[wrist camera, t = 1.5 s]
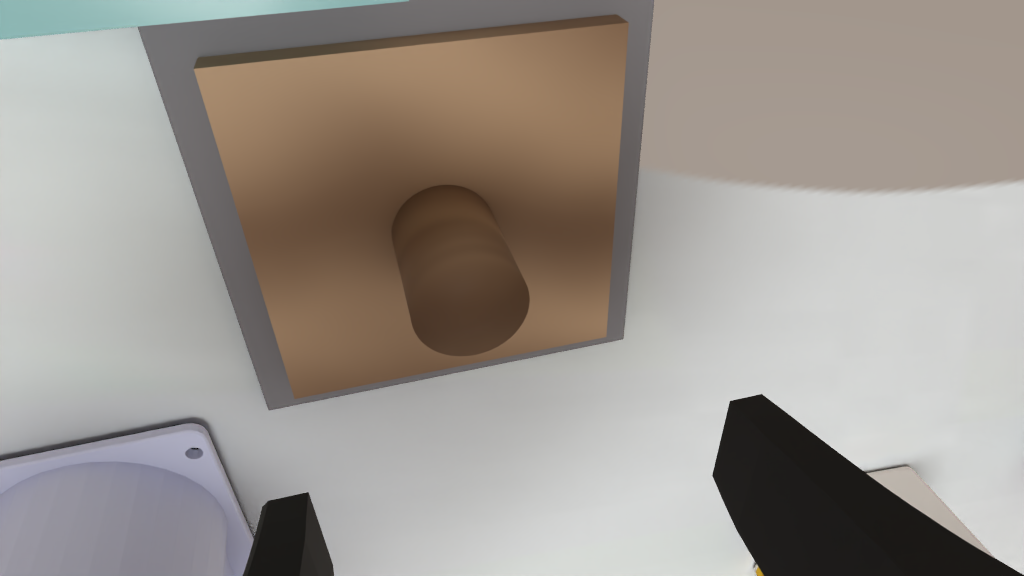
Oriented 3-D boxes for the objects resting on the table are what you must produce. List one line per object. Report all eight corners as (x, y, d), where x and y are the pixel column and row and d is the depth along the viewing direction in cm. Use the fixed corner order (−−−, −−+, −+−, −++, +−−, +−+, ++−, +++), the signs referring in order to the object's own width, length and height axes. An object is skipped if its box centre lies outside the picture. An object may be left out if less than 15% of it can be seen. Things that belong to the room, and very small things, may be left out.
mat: (618, 331, 24) (623, 339, 24) (269, 401, 22) (268, 410, 22) (650, -36, 17) (657, -32, 17) (136, 10, 15) (133, 15, 14)
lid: (597, 322, 23) (651, 415, 20) (294, 381, 21) (295, 495, 18) (616, 14, 17) (698, 69, 14) (197, 57, 15) (171, 134, 12)
